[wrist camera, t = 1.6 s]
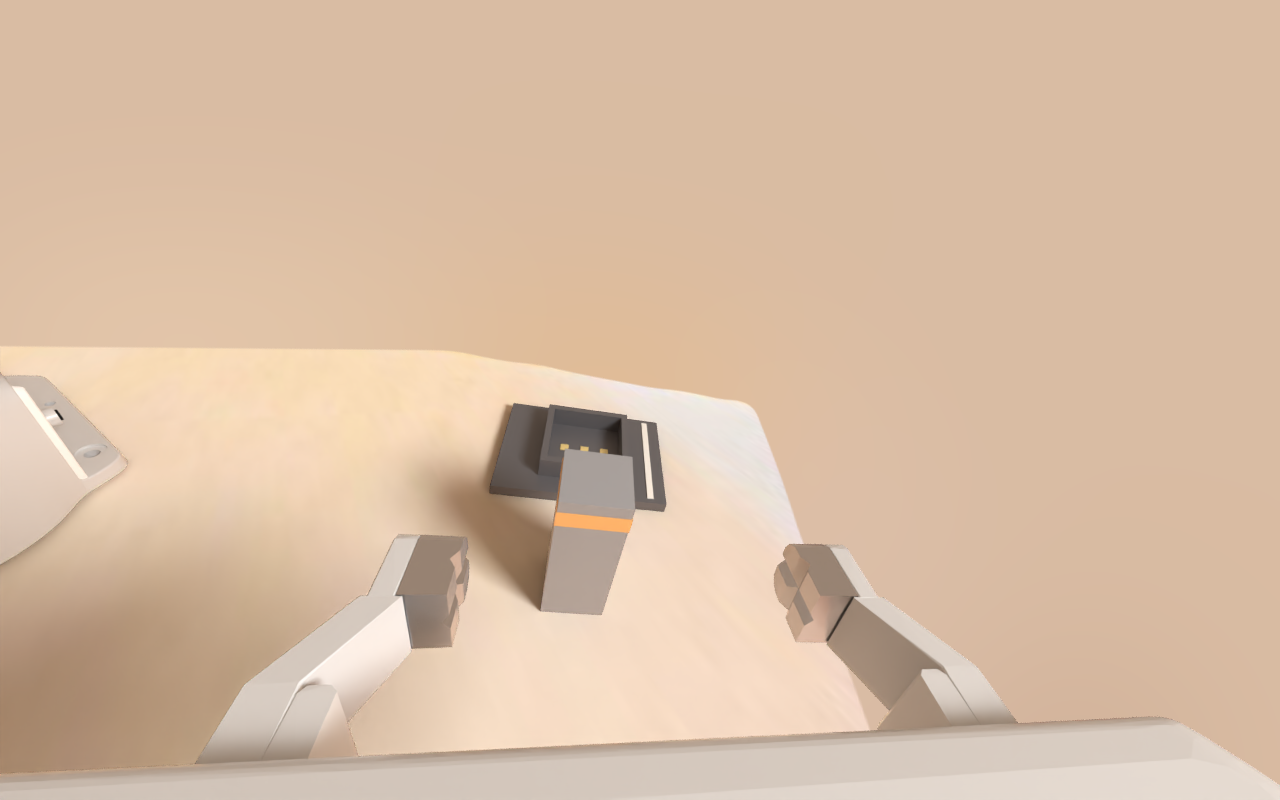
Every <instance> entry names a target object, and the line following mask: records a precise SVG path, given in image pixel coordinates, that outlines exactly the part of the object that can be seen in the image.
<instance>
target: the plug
mask: <svg viewBox="0 0 1280 800" xmlns="http://www.w3.org/2000/svg"><path fill="white" fill-rule="evenodd" d="M634 512H635V497H634V478H633V459H632V457H629V456H621V455H613V454H605V453H597V452H589V451H581V450H573V449H565V452H564V458H563V459H562V466H561V472H560V480H559V488H558V495H557V501H556V507H555V513H554V520H553V526H552V532H551V538H550V544H549V550H548V556H547V564H546V572H545V579H544V587H543V594H542V602H541V610H540V611H545V612H561V613H576V614H592V615H602V612H603V609H604V606H605V603H606V600H607V597H608V594H609V590H610V587H611V584H612V581H613V578H614V575H615V572H616V569H617V565H618V562H619V559H620V556H621V553H622V550H623V547H624V543H625V540H626V537H627V534H628V533H629V531H630V528H631V525H632V522H633V515H634Z"/></svg>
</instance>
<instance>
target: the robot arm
mask: <svg viewBox="0 0 1280 800" xmlns="http://www.w3.org/2000/svg"><path fill="white" fill-rule="evenodd" d="M127 464H128V462H127V460H126V458H125V457H124V456H123V455H122V454H121V453H120V452H119V451H118V450H117V449H116V448H115V447H114V446H113V445H112V444H111V443H110V441H109V440H108V439H107V438H106V437H105V436H104V435H103V434H102V433H101V432H100V431H99V430H98V429H97V428H96V427H95V426H94V425H93V424H92V423H91V422H90V421H89V420H88V419H87V418H86V417H85V416H84V415H83V414H82V413H81V412H80V411H79V410H78V409H77V408H76V407H75V406H74V405H73V404H72V403H71V402H70V401H69V400H68V399H67V398H66V397H65V396H64V395H63V394H62V393H61V392H60V391H59V390H58V389H57V388H56V387H55V386H54V385H53V384H52V383H51V382H50V381H49V380H48V379H46V378H45V377H41V376H21V375H18V376H3V375H2V374H1V373H0V564H2V563H4V562H6V561H7V560H9V559H11V558H12V557H14V556H16V555H17V554H19V553H20V552H22V551H24V550H25V549H26V548H28V547H29V546H31V545H32V544H34V543H35V542H37V541H38V540H39V539H41V538H42V537H43V536H45V535H46V534H47V533H48V532H49V531H51V530H52V529H53V528H54V527H55V526H56V525H57V524H59V523H60V522H61V521H62V520H63V519H64V518H65V517H66V516H67V514H68V513H69V512H70V511H71V510H72V509H73V508H74V507H75V505H76V504H77V503H78V502H79V501H80V500H81V499H82V498H83V497H84V496H86V495H87V494H88V493H89V492H91V491H92V490H94V489H96V488H97V487H99V486H101V485H102V484H104V483H105V482H107V481H109V480H110V479H112V478H113V477H115V476H116V475H117V474H119V473H120V472H121V471H123V470H124V469H125V468H126V466H127ZM467 550H468V541H467V538H466V537H454V536H433V535H405V534H399V535H398V536H397V537H396V538H395V539H394V540H393V542H392V544H391V546H390V548H389V550H388V553H387V555H386V557H385V559H384V561H383V563H382V565H381V567H380V569H379V572H378V574H377V576H376V578H375V580H374V582H373V584H372V586H371V588H370V591H369V593H368V595H367V596H359V597H358V598H356V599H355V600H354V601H352V602H351V603H350V604H348V605H347V606H346V607H345V608H343V609H342V610H341V611H339V612H338V613H337V614H335V615H334V616H333V617H332V618H330V619H329V620H328V621H326V622H325V623H324V624H322V625H321V626H320V627H319V628H317V629H316V630H315V631H313V632H312V633H311V634H309V635H308V636H307V637H306V638H304V639H303V640H302V641H300V642H299V643H298V644H296V645H295V646H294V647H293V648H291V649H290V650H289V651H287V652H286V653H285V654H283V655H282V656H281V657H279V658H278V659H277V660H276V661H274V662H273V663H272V664H270V665H269V666H268V667H266V668H265V669H264V670H263V671H261V672H260V673H259V674H257V675H256V676H255V677H253V678H252V679H251V680H250V681H248V682H247V683H246V684H244V686H243V687H242V689H241V691H240V692H239V694H238V695H237V697H236V699H235V700H234V702H233V703H232V705H231V707H230V708H229V710H228V712H227V713H226V715H225V716H224V718H223V720H222V721H221V723H220V724H219V726H218V728H217V729H216V731H215V732H214V734H213V736H212V737H211V739H210V740H209V742H208V744H207V745H206V747H205V748H204V750H203V752H202V753H201V755H200V756H199V758H198V760H197V761H196V763H195V764H189V765H168V766H148V767H127V768H106V769H86V770H65V771H45V772H24V773H3V774H0V800H1280V785H1279V784H1277V783H1276V782H1274V781H1273V780H1271V779H1270V778H1268V777H1267V776H1265V775H1264V774H1263V773H1261V772H1260V771H1258V770H1257V769H1255V768H1253V767H1252V766H1250V765H1249V764H1247V763H1246V762H1244V761H1243V760H1241V759H1239V758H1238V757H1236V756H1235V755H1233V754H1232V753H1230V752H1228V751H1226V750H1225V749H1224V748H1222V747H1220V746H1219V745H1217V744H1216V743H1214V742H1213V741H1211V740H1209V739H1208V738H1206V737H1205V736H1203V735H1201V734H1199V733H1198V732H1196V731H1194V730H1192V729H1191V728H1189V727H1187V726H1185V725H1183V724H1181V723H1180V722H1178V721H1175V720H1172V719H1169V718H1164V717H1132V718H1112V719H1094V720H1093V719H1092V720H1072V721H1052V722H1032V723H1018V722H1017V721H1016V719H1015V718H1014V717H1013V716H1012V714H1011V713H1010V711H1009V710H1008V709H1007V707H1006V706H1005V704H1004V703H1003V702H1002V700H1001V699H1000V698H999V696H998V695H997V694H996V692H995V691H994V689H993V688H992V687H991V685H990V684H989V683H988V681H987V680H986V678H985V677H984V676H983V674H982V673H981V672H980V670H979V669H978V667H977V666H975V665H974V664H973V663H971V662H970V661H969V660H967V659H966V658H965V657H963V656H962V655H960V654H959V653H958V652H956V651H955V650H954V649H952V648H951V647H950V646H948V645H947V644H946V643H944V642H943V641H941V640H940V639H939V638H937V637H936V636H935V635H933V634H932V633H931V632H929V631H928V630H927V629H925V628H924V627H923V626H921V625H920V624H919V623H917V622H916V621H915V620H913V619H912V618H911V617H909V616H908V615H907V614H905V613H904V612H902V611H901V610H900V609H898V608H897V607H896V606H894V605H893V604H892V603H890V602H889V601H887V600H886V599H885V598H883V597H878V596H877V595H876V593H875V591H874V590H873V589H872V587H871V585H870V584H869V582H868V580H867V579H866V577H865V576H864V574H863V572H862V571H861V569H860V568H859V566H858V565H857V563H856V561H855V560H854V558H853V557H852V555H851V553H850V552H849V551H848V549H847V548H846V547H845V546H843V545H822V544H789V545H788V546H786V547H785V550H784V552H783V556H784V558H785V560H784V561H783V562H781V563H780V564H779V565H777V568H776V571H775V573H774V587H775V592H776V595H777V598H778V600H779V602H780V603H781V604H782V605H783V606H784V607H785V608H786V609H788V611H787V615H786V620H787V622H788V625H789V627H790V629H791V632H792V634H793V637H794V639H795V641H796V642H822V643H827V645H828V646H829V647H830V649H831V650H832V651H833V652H834V653H835V654H836V655H837V656H838V657H839V658H840V659H841V660H842V661H843V662H844V663H845V664H846V665H847V666H848V668H849V669H850V670H851V671H852V672H853V673H854V674H855V675H856V676H857V677H858V678H859V679H860V680H861V681H862V682H863V683H864V684H865V686H867V688H868V689H869V690H870V691H871V692H872V693H873V694H874V695H875V696H876V697H877V698H878V699H879V700H880V701H881V702H882V704H884V706H886V708H887V709H888V710H889V712H888V713H887V714H886V715H885V717H884V718H883V719H882V720H881V722H880V723H879V725H878V728H877V729H878V730H874V731H853V732H833V733H812V734H792V735H771V736H751V737H730V738H710V739H689V740H669V741H649V742H630V743H610V744H590V745H570V746H550V747H529V748H509V749H489V750H469V751H449V752H429V753H409V754H389V755H369V756H358V753H357V750H356V747H355V744H354V741H353V738H352V735H351V732H350V729H349V726H348V723H347V722H348V721H349V720H350V719H351V718H352V717H353V716H354V715H355V714H356V712H357V711H358V710H359V709H360V708H361V707H362V706H363V705H364V704H365V702H366V701H367V700H368V699H369V698H370V697H371V696H372V695H373V694H374V692H375V691H376V690H377V689H378V688H379V687H380V686H381V685H382V684H383V682H384V681H385V680H386V679H387V678H388V677H389V676H390V675H391V674H392V672H393V671H394V670H395V669H396V668H397V667H398V666H399V665H400V664H401V662H402V661H403V660H404V659H405V658H406V657H407V656H408V655H409V654H410V652H411V651H412V650H411V649H415V648H439V647H452V645H453V642H454V638H455V634H456V630H457V627H458V623H459V606H460V605H461V604H462V603H463V602H464V600H465V595H466V591H467V586H468V579H469V560H468V559H467V558H465V557H466V554H467Z"/></svg>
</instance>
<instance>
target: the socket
mask: <svg viewBox="0 0 1280 800" xmlns="http://www.w3.org/2000/svg"><path fill="white" fill-rule="evenodd" d="M565 449H573V450H581V451H589V452H597V453H605V454H613V455H621V456H629V457H632V459H633V478H634V497H635V509H644V510H653V511H663V512H664V510H665V507H666V498H665V490H664V482H663V474H662V465H661V457H660V449H659V441H658V433H657V425H656V423H653V422H646V421H639V420H632V419H627V415H622V414H615V413H608V412H601V411H593V410H586V409H579V408H572V407H565V406H558V405H551V404H550V406H549V408H545V407H538V406H530V405H523V404H516V403H514V404H513V408H512V411H511V415H510V418H509V422H508V425H507V429H506V432H505V435H504V439H503V442H502V446H501V449H500V453H499V456H498V460H497V463H496V467H495V470H494V473H493V477H492V480H491V484H490V493H491V494H501V495H510V496H520V497H529V498H539V499H548V500H557V495H558V488H559V480H560V472H561V466H562V459H563V458H564V452H565Z"/></svg>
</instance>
